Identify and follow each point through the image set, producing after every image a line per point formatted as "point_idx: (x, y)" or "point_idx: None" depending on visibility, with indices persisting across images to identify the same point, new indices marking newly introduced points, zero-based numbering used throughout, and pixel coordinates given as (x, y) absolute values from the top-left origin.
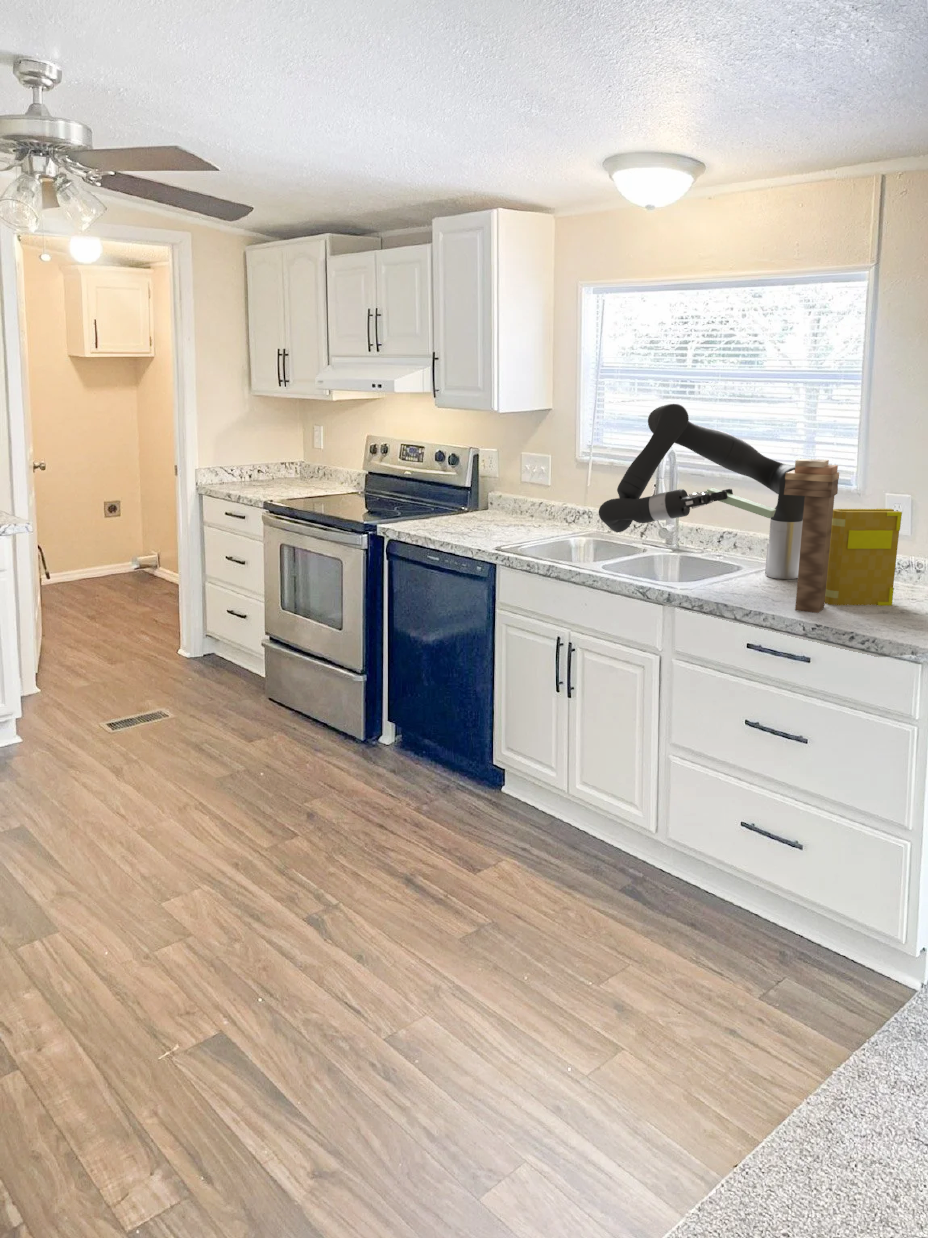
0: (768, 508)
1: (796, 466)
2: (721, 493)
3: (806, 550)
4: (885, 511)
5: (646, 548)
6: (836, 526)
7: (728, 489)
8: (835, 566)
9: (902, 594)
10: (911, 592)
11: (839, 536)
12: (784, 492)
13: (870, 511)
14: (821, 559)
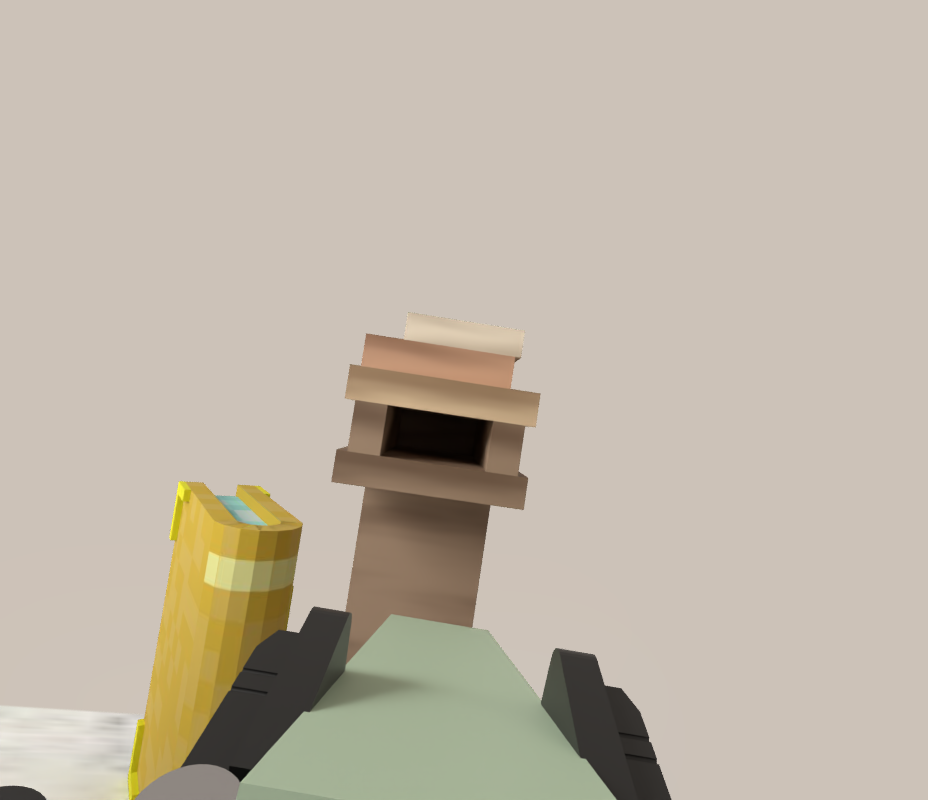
0: (446, 627)
1: (514, 360)
2: (635, 711)
3: None
4: (253, 493)
5: None
6: (285, 589)
7: (342, 630)
8: None
9: (37, 734)
10: (7, 717)
11: (285, 623)
12: (524, 498)
13: (264, 502)
14: None
